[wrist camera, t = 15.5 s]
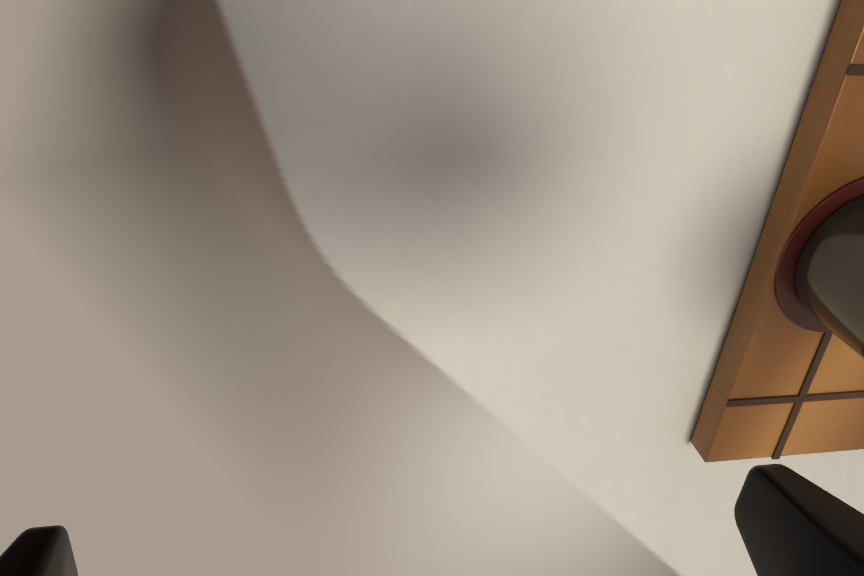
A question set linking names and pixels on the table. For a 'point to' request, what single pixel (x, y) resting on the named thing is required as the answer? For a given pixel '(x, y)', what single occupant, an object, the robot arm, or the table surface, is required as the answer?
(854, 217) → the dark grey cylinder
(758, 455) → the board
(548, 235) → the table surface
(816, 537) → the robot arm
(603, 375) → the table surface
